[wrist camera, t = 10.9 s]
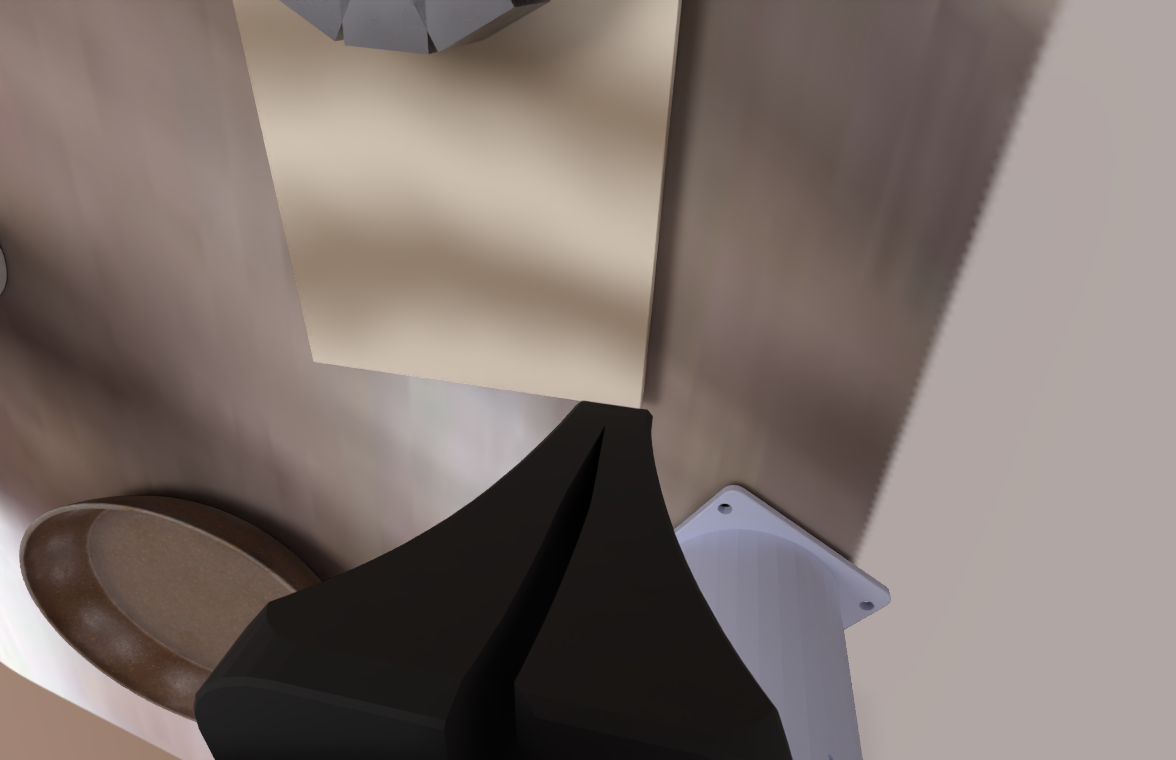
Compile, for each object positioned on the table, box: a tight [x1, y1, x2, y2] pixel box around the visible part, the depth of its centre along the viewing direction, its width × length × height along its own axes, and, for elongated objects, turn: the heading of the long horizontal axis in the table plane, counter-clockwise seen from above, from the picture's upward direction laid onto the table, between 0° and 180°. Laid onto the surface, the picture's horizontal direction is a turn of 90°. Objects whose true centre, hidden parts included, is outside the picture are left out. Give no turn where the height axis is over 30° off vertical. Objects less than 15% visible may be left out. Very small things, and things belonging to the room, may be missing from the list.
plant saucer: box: [19, 496, 321, 722], centre depth 34 cm, size 18×18×3 cm
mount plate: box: [233, 0, 682, 409], centre depth 18 cm, size 20×12×1 cm, turn 178°
